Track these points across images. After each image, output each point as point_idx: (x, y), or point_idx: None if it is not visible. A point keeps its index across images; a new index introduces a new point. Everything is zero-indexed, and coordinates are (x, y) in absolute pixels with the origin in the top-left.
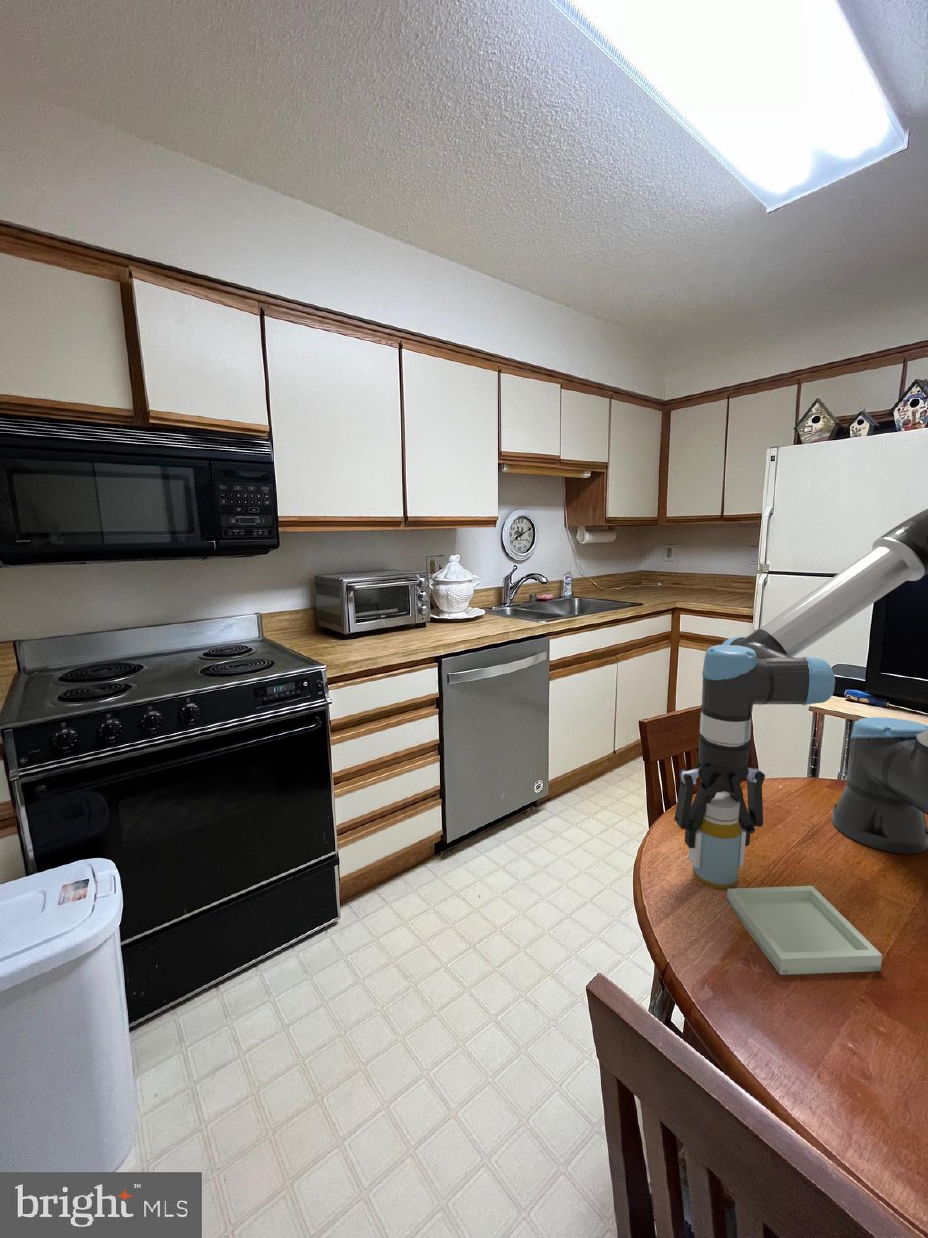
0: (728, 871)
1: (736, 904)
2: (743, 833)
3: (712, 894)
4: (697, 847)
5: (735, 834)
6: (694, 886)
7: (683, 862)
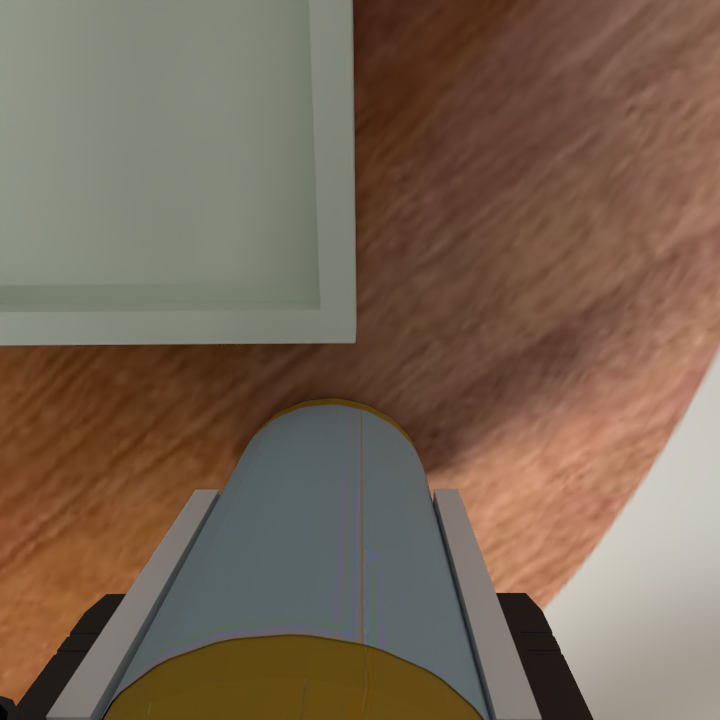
0: (306, 440)
1: (354, 247)
2: (80, 701)
3: (393, 378)
4: (489, 590)
5: (180, 690)
6: (447, 428)
7: None
